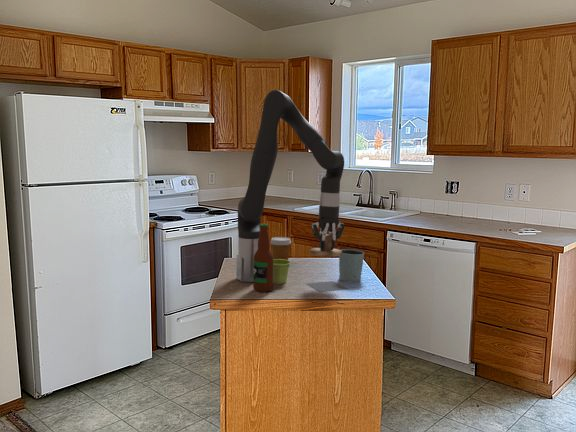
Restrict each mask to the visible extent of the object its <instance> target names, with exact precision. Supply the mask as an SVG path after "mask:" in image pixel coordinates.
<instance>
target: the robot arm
mask: <svg viewBox="0 0 576 432" xmlns="http://www.w3.org/2000/svg"><path fill="white" fill-rule="evenodd" d="M280 119H281V120H283V121H284V122H285V123H286V124H288V125H289V126H290V127H291V129H293V131H294V132H295V134H296V135H297V138H298V139H299V140H300V142H301V143H302V144H303V145H304V146H305V147H306V148H307V149H308V150H309V151H310V152H311V153H312V156H313V157H314V160H315V161H316V162H317V164H318V165H319V166H320V167H321V168H322V169H324V170H326V171H325V175H324V176H323V177H322V178H321V182H320V194H319V200H318V201H319V204H318V206H319V207H318V220H317V222H315V223H314V222H313V223H312V222H311V224H310V227H311V230H312V233H313V235H314V237H315V239H317V240H318V242H319V246H318V248H320V249H321V250H324V249H325V241H324V240H325V236H326V234H329V235H332V248H331V250H333V249H335V245H336V240H338V239H340V238H341V236H342V234H343V231H344V229H345V227H346V224H345V223H343V222H340V220H339V216H340V205H341V203H340V201H341V199H340V198H341V197H340V191H341V188H340V187H341V180H342V176H343V171H344V168H345V158H344V155H343V153H341V151H338V150H331V149H330V148H329V146H328V145H327V140H326V139H325V138H324V136H323V135H322V134H321V133H320V132H319V131H318V130H317V129H316V128H315V127H314V126H313V125H312V124H311V123H310V122H309V121H308V120H307V119H306V117H304V116H303V115H302V113H301V111H300V110H299V108H297V106H296V104H295V103H294V101H293V100H292V98H291V97H290V96H289V95H288V94H286V93H284V92H283V91H281V90H278V89H272V90H271V91H269V92H268V93H267V94H266V96H265V99H264V100H263V106H262V113H261V119H260V125H259V129H258V131H257V132H258V133H257V136H256V141H255V145H254V148H253V152H252V156H251V160H250V165H249V178H248V179H249V180H248V185H247V186H248V187H247V189H246V193H245V195H244V197H242V198H241V199H240V201H239V202H238V205H237V232H238V233H237V234H238V241H237V243H238V244H237V245H238V246H237V247H238V248H237V249H238V251H237V254H236V272H235V273H236V276H235V277H236V279H237V280H238V281H240V282H247V283H248V282H249V283H250V282H251V283H252V282H253V275H254V255H255V253H256V251H257V250H258V239H259V234H260V230H259V229H260V224H262V223H261V221H262V220H261V217H262V215H263V213H264V207H265V202H266V201H265V199H266V196H267V189H268V186H269V183H270V180H271V178H272V174H273V170H274V167H275V163H276V160H277V155H278V151H279V143H278V129H279V128H278V126H279V123H280ZM319 229H320V231H319Z"/></svg>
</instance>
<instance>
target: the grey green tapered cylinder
mask: <svg viewBox="0 0 576 432" xmlns="http://www.w3.org/2000/svg"><path fill="white" fill-rule="evenodd" d="M340 250H341V251H342V255H341V256H338V260H339V261H338V268H339V269H338V271H339V272H338V274H339V275H338V276H339V277H338V278H339V280H340V281H343V282H346V283H349V282H350V283H353V282H354V283H356V282H361V279H362V272H363V271H362V270H363V264H364V258H365V252H364V251H363V250H360V249H356V248H355V249H353V248H346V249H345V248H343V249H340Z"/></svg>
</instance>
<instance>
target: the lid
mask: <svg viewBox="0 0 576 432" xmlns="http://www.w3.org/2000/svg"><path fill="white" fill-rule="evenodd" d="M324 241H325V249H324V250H321V249H320V248H319V247H313V248H311V249H309V254H311V255H313V256H316V257H324V258H325V257H326V258H327V257H328V258H329V257H330V258H332V257H333V258H334V257H339V256H341V255H342V251H341V250H342V249H339V248H333V250H331V248H332V235H330V233H327V234H326V236H325V240H324Z"/></svg>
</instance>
